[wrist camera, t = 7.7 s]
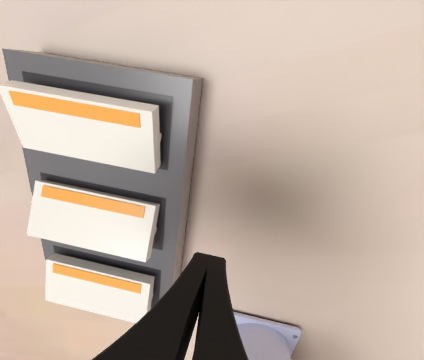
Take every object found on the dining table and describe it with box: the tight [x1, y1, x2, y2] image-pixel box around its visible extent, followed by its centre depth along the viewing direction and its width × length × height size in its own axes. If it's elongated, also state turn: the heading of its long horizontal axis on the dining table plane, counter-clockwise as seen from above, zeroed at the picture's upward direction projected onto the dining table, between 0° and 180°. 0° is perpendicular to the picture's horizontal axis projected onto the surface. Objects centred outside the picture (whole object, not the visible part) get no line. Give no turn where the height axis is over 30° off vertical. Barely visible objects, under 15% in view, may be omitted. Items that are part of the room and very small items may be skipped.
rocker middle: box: [27, 180, 160, 262], centre depth 18 cm, size 4×9×1 cm, turn 82°
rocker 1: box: [0, 80, 162, 174], centre depth 15 cm, size 4×9×1 cm, turn 81°
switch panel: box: [2, 49, 203, 308], centre depth 20 cm, size 21×12×3 cm, turn 172°
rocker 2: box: [45, 253, 155, 323], centre depth 21 cm, size 4×9×1 cm, turn 82°
